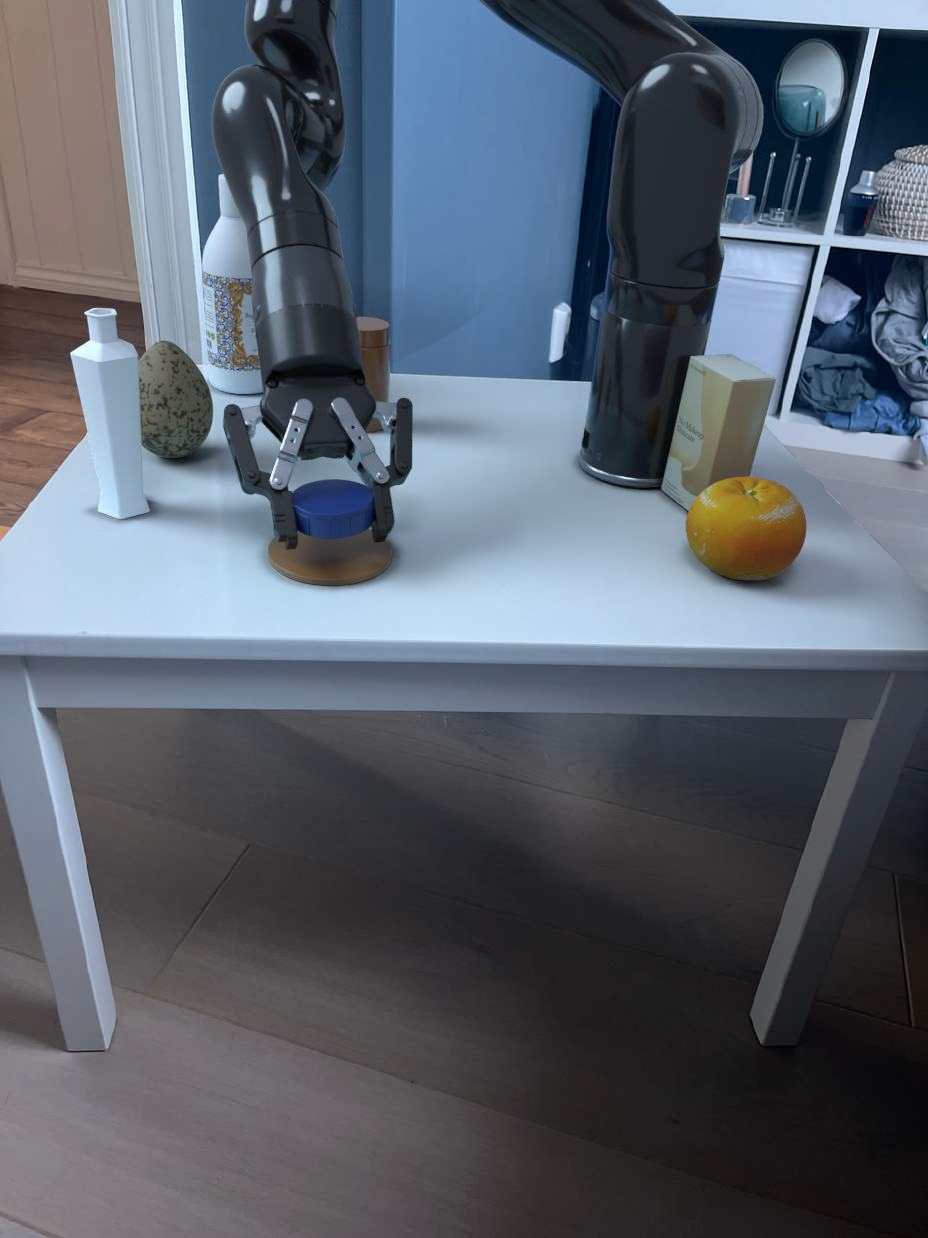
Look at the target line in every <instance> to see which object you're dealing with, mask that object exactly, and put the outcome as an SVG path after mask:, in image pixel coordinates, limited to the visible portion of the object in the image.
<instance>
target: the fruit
mask: <svg viewBox="0 0 928 1238" xmlns="http://www.w3.org/2000/svg"><path fill="white" fill-rule="evenodd" d="M807 526H808V525H807V518H806V514H805V511H804V509H803V506H802V504H801V502H800V500H799V498H797V496H796V495H795V494H794V493H793V492H792V491H791V490H790V489H788V488H787V487H785V486H783V485H782V484H779V483H778V482H776V481H773V480H769V479H765V478H761V477H758V476H757V477H756V476H750V477H734V478H729V479H725V480H721V481H719V482H716V483H714V484H712V485H711V486H709V487H708V488H706V489H705V490H704V491H703V492H701V493H700V494H699V495H698V496H697V498H696V499H695V500H694V502H693V503H692V505H691V507H690V509H689V511H688V512H687V515H686V519H685V535H686V540H687V544H688V546H689V549H690V550H691V552H692V554H693V555H694V557H696V559H697V560H698V561H699V562H700V563H702V564H703V566H705V567H707V568H708V569H709V570H711V571H713V572H714V573H716V574H718V575H720V576H722V577H724V578H729V579H731V580H736V581H737V580H738V581H763V580H768V579H772V578H774V577H776V576H778V575H779V574H781V573H783V572H784V571H785V570H786V569H787V568H788V567H790V566H791V564H793V562H794V561H795V560H796V559H797V558H798V556H799V554H800V553H801V551H802V549H803V547H804V544H805V540H806V536H807Z"/></svg>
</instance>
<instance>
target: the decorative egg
mask: <svg viewBox="0 0 928 1238" xmlns="http://www.w3.org/2000/svg"><path fill="white" fill-rule="evenodd" d="M138 364H139V391H140V418H141V444H142V447H143V448H144V449H145V450H147V451H148V452H150V453H151V454H153V455H156V456H158V457H161V458H165V459H178V458H184V457H186V456H189V455H190V454H193V453H194V452H195V451H197V450H198V449H199V448H200V447H201V446H202V445H203V444H204V442H205V441H206V440H207V438H208V436H209V434H210V432H211V429H212V425H213V420H214V402H213V397H212V393H211V390H210V386H209V384H208V382H207V380H206V378H205V376H204V375H203V373H202V371H201V370H200V368H199V367H198V365H197V364H196V363H195V361H194V360H193V359H192V358H191V357H190V356H189V355H188V354H187V353H186V352H185V351H184V350H183V349H182V348H181V347H179V345H177V344H176V343H175V342H172V341H169V340H159V341H157V342H155V343H153V344H152V345H151V346H149V347H148V348H147V350H146V351H145V352H144V353H143V354H142V356H140V359H139V358H138Z"/></svg>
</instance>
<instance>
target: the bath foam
mask: <svg viewBox="0 0 928 1238" xmlns="http://www.w3.org/2000/svg"><path fill="white" fill-rule="evenodd" d="M218 195H219V196H218V197H219V211H220V217H219V218H218V220H217V222H216V223H215V225H214V227H213V229H212V230H211V232H210V234H209V236H208V238H207V240H206V243H205V245H204V249H203V253H202V260H201V274H202V290H203V291H202V292H203V305H204V307H203V308H204V321H205V322H204V323H205V336H206V337H205V338H206V351H207V364H208V365H207V367H208V379H209V383H210V384H211V385H212V387H213V388H215V389H217V390H219V391H221V392H225V393H229V394H235V395H254V394H261V393H263V387H262V379H261V371H260V364H259V356H258V348H257V341H256V332H255V325H254V317H253V309H252V275H251V267H250V259H249V252H248V244H247V234H246V227H245V224H244V222H243V220H242V217H241V215H240V213H239V211H238V209H237V207H236V205H235V202H234V200H233V197H232V195H231V192H230V189H229V187H228V184H227V182H226V179H225V177H224V174H223V173H221V174H218Z"/></svg>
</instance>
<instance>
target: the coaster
mask: <svg viewBox="0 0 928 1238" xmlns="http://www.w3.org/2000/svg"><path fill="white" fill-rule="evenodd" d="M297 534H298V544H297V548H296V549H290V550H286V548H285V542H278V541H277V539H276V538H275V537H273V538H272V540H271V541H270V542H269V544H268V549H267V557H268V561H269V563H270V565H271V566H272V568H274V569H275V570H276V571H277V572H279V573H280V574H281V575H283V576H285V577H287V578H289V579H291V580H294V581H296V582H301V583H306V584H309V585H316V586H346V585H353V584H359V583H361V582H365V581H368V580H371V579H374V578H376V577H377V576H379V575H381V574H382V573H384V572H385V571H386V570H387V569H388V568H389V566H390V565H391V562H392V559H393V548H392V545H391V543H390V542H389V541H388V539H387V538H386V539H385V541H384V542H375V543H374V541H373V535H372V529H371V528H368V529H367V530H366V531H364V532H362V533H360V534H357V535H354V536H351V537H346V538H339V539H322V538H316V537H311V536H308V535H305V534H303V533H301V532H299V531H298V530H297Z"/></svg>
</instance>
